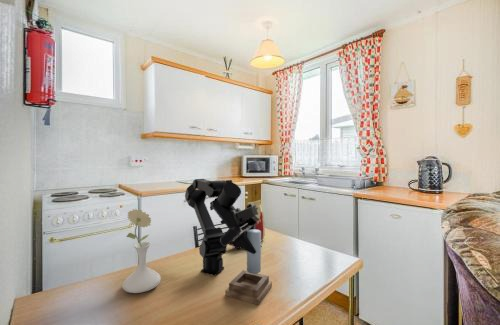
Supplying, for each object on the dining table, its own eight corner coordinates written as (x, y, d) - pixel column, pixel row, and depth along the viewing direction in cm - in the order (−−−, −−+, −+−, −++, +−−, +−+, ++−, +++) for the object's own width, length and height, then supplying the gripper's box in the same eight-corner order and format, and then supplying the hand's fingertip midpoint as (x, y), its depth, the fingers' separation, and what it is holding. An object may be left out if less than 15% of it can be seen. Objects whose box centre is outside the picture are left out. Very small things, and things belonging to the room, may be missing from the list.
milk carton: (264, 235, 128) (265, 198, 128) (264, 241, 119) (264, 201, 119) (248, 234, 129) (248, 197, 129) (246, 240, 120) (246, 201, 120)
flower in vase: (168, 283, 79) (168, 208, 78) (137, 301, 69) (136, 216, 68) (143, 273, 85) (143, 204, 85) (111, 288, 76) (111, 210, 75)
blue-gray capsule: (244, 271, 75) (245, 232, 74) (250, 266, 79) (250, 228, 79) (257, 274, 73) (258, 234, 73) (262, 268, 77) (262, 230, 77)
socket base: (225, 295, 72) (225, 283, 72) (241, 278, 82) (241, 268, 82) (258, 304, 68) (258, 292, 68) (271, 286, 78) (271, 275, 77)
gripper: (229, 201, 68) (265, 245, 64) (253, 192, 86) (283, 226, 81) (206, 225, 72) (239, 268, 68) (234, 212, 89) (261, 246, 85)
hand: (257, 250), depth 75 cm, fingers closed on blue-gray capsule, 4 cm apart
